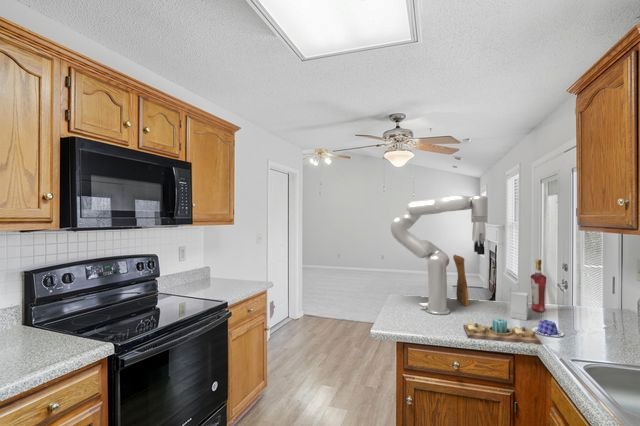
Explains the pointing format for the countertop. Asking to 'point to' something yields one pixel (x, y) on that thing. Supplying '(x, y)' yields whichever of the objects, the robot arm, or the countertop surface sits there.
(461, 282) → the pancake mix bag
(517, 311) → the supplement box
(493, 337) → the gear board
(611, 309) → the countertop surface
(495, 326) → the loose gear
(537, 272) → the liquor
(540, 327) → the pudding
